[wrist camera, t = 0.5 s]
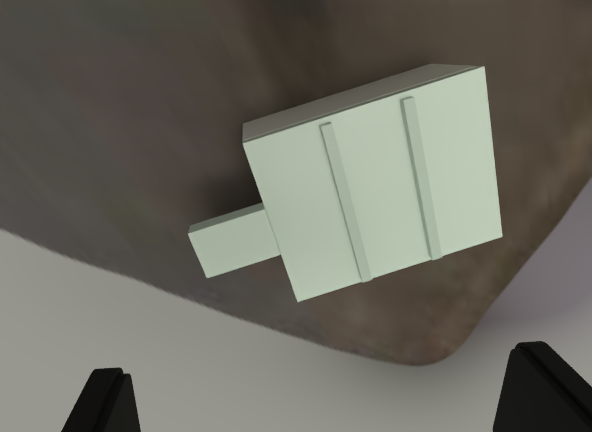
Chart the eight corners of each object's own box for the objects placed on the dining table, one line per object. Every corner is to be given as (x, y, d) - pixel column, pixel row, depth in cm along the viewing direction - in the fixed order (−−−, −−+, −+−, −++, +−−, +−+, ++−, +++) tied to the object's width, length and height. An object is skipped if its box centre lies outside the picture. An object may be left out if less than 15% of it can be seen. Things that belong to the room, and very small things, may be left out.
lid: (229, 316, 36) (229, 329, 34) (164, 165, 30) (159, 172, 29) (495, 231, 36) (507, 240, 34) (477, 65, 30) (490, 66, 29)
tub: (287, 253, 43) (296, 294, 36) (242, 123, 38) (242, 140, 30) (451, 200, 43) (494, 230, 36) (430, 63, 38) (475, 65, 30)
